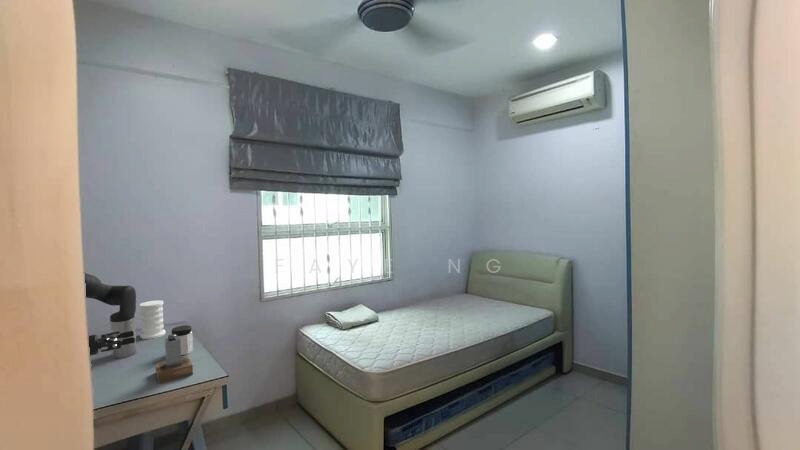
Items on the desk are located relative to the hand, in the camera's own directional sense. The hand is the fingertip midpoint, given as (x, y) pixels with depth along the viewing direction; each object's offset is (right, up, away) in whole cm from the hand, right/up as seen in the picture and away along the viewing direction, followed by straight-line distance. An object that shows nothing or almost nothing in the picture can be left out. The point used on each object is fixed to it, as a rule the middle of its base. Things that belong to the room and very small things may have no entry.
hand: (134, 336), depth 146 cm
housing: (+13, -14, +5) cm, 19 cm away
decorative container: (-27, -15, +51) cm, 59 cm away
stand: (+13, -18, +6) cm, 22 cm away
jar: (+3, -17, +27) cm, 32 cm away
